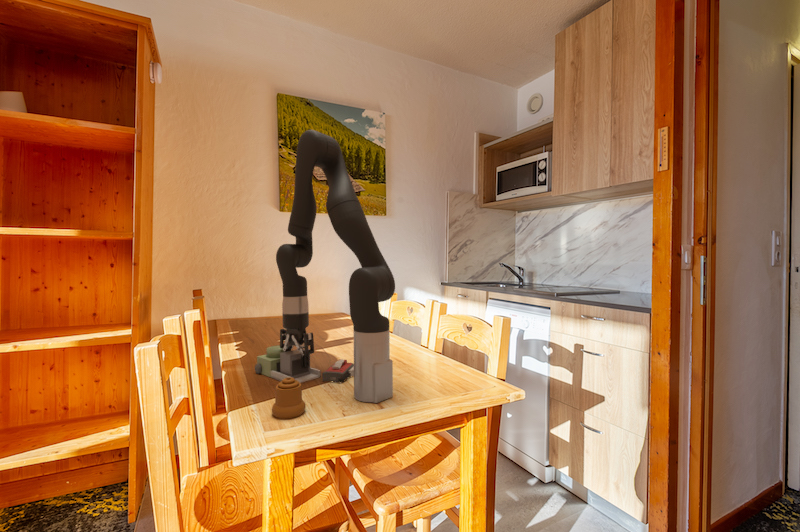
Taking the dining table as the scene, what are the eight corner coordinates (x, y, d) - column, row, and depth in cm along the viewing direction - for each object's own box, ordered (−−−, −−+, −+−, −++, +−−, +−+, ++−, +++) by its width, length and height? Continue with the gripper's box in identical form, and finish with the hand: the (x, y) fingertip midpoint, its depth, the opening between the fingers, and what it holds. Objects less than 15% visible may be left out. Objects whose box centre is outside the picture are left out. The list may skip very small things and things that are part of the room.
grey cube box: (310, 374, 116) (310, 351, 116) (290, 380, 111) (290, 355, 111) (300, 371, 120) (300, 348, 119) (280, 376, 114) (280, 352, 114)
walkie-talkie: (348, 385, 109) (367, 365, 128) (348, 370, 109) (367, 352, 128) (319, 384, 110) (342, 364, 130) (319, 368, 110) (342, 351, 130)
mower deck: (322, 376, 116) (322, 351, 116) (288, 386, 107) (288, 359, 107) (287, 364, 129) (287, 342, 128) (254, 372, 120) (254, 349, 120)
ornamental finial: (277, 407, 93) (308, 406, 93) (267, 420, 85) (301, 419, 85) (277, 374, 93) (308, 373, 93) (266, 384, 85) (301, 384, 85)
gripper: (320, 311, 113) (321, 366, 113) (293, 308, 122) (294, 359, 122) (298, 314, 107) (299, 372, 107) (271, 310, 116) (272, 364, 117)
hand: (296, 365), depth 115 cm, fingers open, 8 cm apart
